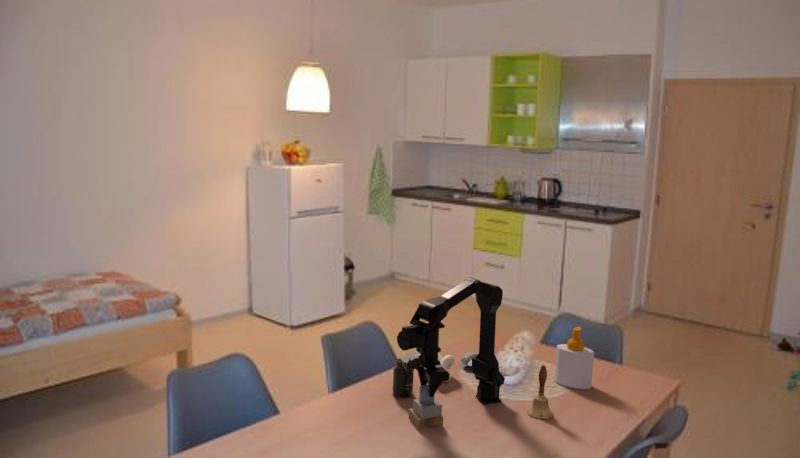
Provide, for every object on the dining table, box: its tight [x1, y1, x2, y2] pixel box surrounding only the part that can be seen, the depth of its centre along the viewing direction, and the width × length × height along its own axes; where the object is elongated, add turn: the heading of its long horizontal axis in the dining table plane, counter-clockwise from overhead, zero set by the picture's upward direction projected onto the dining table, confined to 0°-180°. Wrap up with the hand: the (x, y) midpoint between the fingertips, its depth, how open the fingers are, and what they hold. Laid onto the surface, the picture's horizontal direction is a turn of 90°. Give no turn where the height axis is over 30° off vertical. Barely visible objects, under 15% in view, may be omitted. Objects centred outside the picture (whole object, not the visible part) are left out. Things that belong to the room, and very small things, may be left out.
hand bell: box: [526, 364, 554, 420], centre depth 202 cm, size 8×8×16 cm
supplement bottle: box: [392, 357, 415, 399], centre depth 214 cm, size 7×7×12 cm
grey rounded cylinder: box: [418, 384, 435, 405], centre depth 194 cm, size 4×4×4 cm
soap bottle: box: [554, 326, 595, 390], centre depth 225 cm, size 13×8×20 cm, turn 58°
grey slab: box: [412, 397, 443, 419], centre depth 194 cm, size 6×6×4 cm
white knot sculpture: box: [436, 352, 455, 383], centre depth 228 cm, size 11×12×9 cm
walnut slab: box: [408, 407, 444, 431], centre depth 195 cm, size 8×8×4 cm
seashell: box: [460, 353, 478, 367], centre depth 241 cm, size 12×8×5 cm
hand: (427, 392), depth 194 cm, fingers open, 6 cm apart
